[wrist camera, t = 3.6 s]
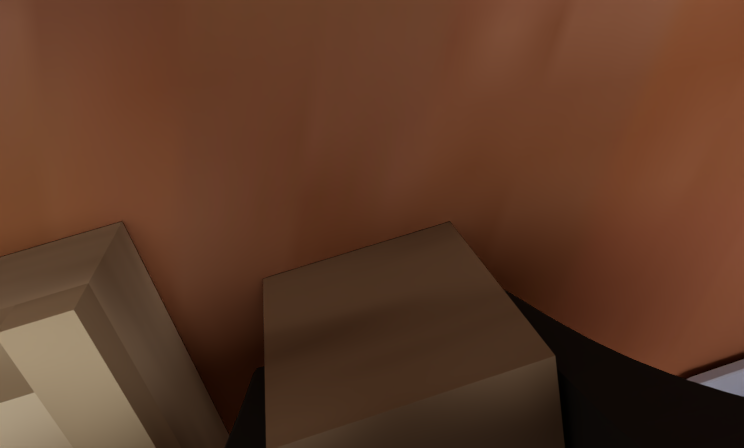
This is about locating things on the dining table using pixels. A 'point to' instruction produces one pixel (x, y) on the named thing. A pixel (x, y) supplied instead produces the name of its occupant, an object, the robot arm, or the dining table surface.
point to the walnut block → (404, 353)
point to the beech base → (95, 353)
